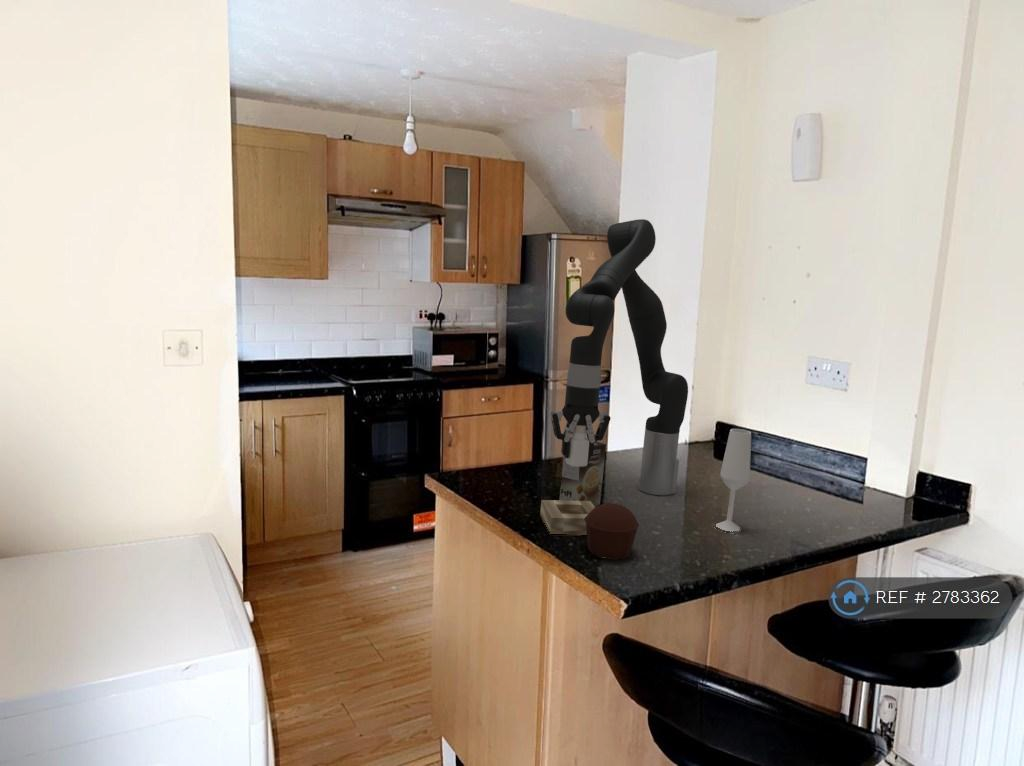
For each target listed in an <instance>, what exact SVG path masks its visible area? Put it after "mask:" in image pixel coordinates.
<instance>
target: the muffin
mask: <svg viewBox="0 0 1024 766" xmlns="http://www.w3.org/2000/svg"><path fill="white" fill-rule="evenodd" d="M584 520H585V522H586V529H587V536H586V542H587V549H588V551H589V550H590V551H589V552H591V553H593V554H596V555H598V556H600V557H606V558H611V559H617V558H626V559H627V557H628V556H629V555H628V554H630V555H631V552H632V549H633V546H634V541H635V539H636V533H637V531H638V530H637V529H638V528H639V527H640V524H639V522H638V520H637V519H636V517H635V515H634V514H633V512H632V510H630V509H629V508H627V507H625V506H624V505H622V504H618V503H611V502H610V503H603V504H600V505H597V506H595V508H594V509H593V510H592V511H591V512H590V513H589V514H588V515H587V516H586V517H585V518H584ZM591 553H590V554H591ZM593 554H592V555H593ZM596 555H595V556H596ZM627 555H628V556H627ZM598 556H597V557H598ZM600 557H599V558H600ZM611 559H610V560H611Z"/></svg>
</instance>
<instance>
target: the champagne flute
mask: <svg viewBox="0 0 1024 766" xmlns="http://www.w3.org/2000/svg"><path fill="white" fill-rule="evenodd" d="M727 437H728V438H727V442H726V447H725V452H724V454H723V455H724V456H723V460H722V465H721V469H720V473H719V475H720V478H721V480H722V482H723V483H724V484H725V486H726V487H727V488H728V489H729V490H730V492H729V499H728V506H727V507H728V508H727V515H726V519H725V520H723V521H721V522H718V523H715V524H716V527H718V528H720V529H722V530H725V531H730V532H731V531H732V532H733V531H739V530H740V528H741V527H740V526H739V525H738V524H736V523H735V522H733V513H734V506H735V498H736V491H737V490H739V489H741V488H742V487H744V486H745V485H746V484H747V483H748V482H749V481H750V478H751V456H752V455H751V449H752V447H751V446H752V431H750V430H747V429H742V428H731V429H730V430H729V434H728V436H727Z"/></svg>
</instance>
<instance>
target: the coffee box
mask: <svg viewBox="0 0 1024 766" xmlns="http://www.w3.org/2000/svg"><path fill="white" fill-rule="evenodd" d="M606 450H607V444H606V443H603V442H600V441H596V442H595V443H594V451H593V456H590V459H588V462H587V466H584V467H572V466H571V465H569V464H567V463H566V458H565V457H564V456H563V461H562V469H561V470H562V471H561V481H560V489H559V499H558V500H565V501H591V503H592V504H593V505H594V506H595V507H597V506H599V505H601V496H602V487H603V477H604V470H605V469H604V468H605V461H606V459H605V458H606Z"/></svg>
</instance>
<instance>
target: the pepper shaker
mask: <svg viewBox="0 0 1024 766" xmlns="http://www.w3.org/2000/svg"><path fill="white" fill-rule="evenodd" d="M586 430H587V429H586V426H582V425H576V427H575V429H574V432H573V433H572V435H571V437H570V440H569V442H570V448H569V458H566V463H567V464H569V465H571V466H572V467H584V466H587V462H588V451H589V440H588V439H587V435H586Z"/></svg>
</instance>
